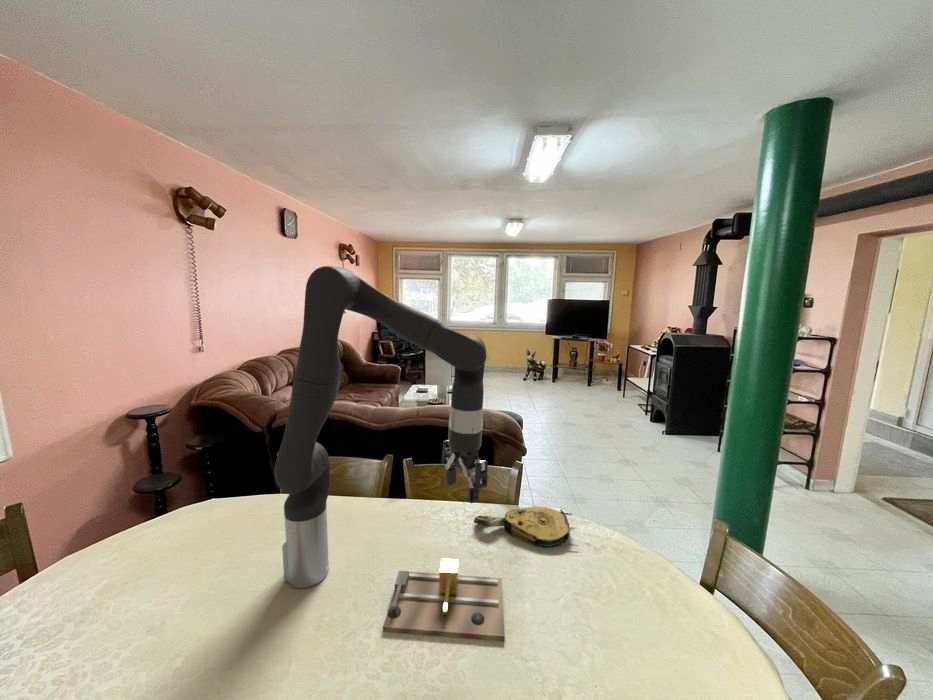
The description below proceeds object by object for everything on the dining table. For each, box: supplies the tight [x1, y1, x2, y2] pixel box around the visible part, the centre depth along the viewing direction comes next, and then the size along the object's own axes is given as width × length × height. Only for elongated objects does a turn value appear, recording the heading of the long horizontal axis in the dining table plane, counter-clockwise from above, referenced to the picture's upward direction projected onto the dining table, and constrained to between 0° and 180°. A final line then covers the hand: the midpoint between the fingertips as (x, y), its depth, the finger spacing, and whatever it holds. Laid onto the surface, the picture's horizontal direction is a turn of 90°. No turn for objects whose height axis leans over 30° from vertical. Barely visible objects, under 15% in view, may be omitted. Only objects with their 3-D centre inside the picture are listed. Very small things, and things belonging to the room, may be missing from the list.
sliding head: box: [438, 558, 460, 616], centre depth 80 cm, size 4×10×6 cm, turn 177°
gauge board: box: [382, 570, 506, 642], centre depth 81 cm, size 25×15×4 cm, turn 87°
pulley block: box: [473, 506, 580, 549], centre depth 107 cm, size 14×6×30 cm
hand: (461, 492), depth 83 cm, fingers open, 8 cm apart
